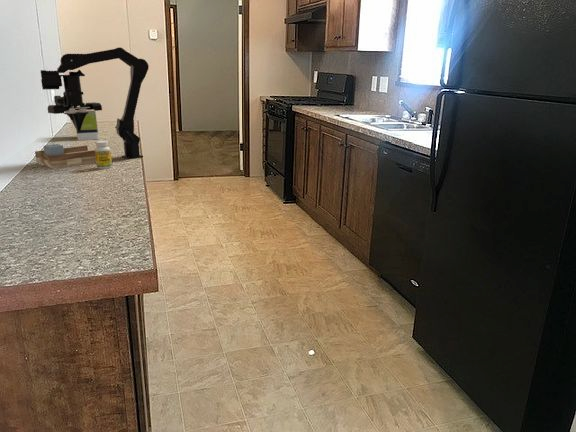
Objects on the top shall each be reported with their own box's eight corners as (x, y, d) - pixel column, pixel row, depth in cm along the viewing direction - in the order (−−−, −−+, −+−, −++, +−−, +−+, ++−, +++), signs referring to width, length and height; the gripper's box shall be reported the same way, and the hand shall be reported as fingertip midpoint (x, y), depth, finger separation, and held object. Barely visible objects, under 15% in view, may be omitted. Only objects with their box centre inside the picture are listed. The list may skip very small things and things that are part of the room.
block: (64, 159, 175) (63, 145, 174) (51, 160, 172) (49, 147, 170) (59, 157, 178) (57, 144, 177) (45, 159, 175) (43, 145, 173)
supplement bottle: (110, 165, 177) (107, 140, 174) (113, 168, 173) (111, 142, 170) (95, 167, 174) (92, 141, 172) (98, 169, 170) (95, 143, 167)
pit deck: (104, 161, 185) (103, 149, 184) (52, 168, 171) (50, 156, 170) (87, 156, 194) (86, 145, 193) (36, 163, 180) (34, 151, 178)
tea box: (76, 136, 246) (73, 107, 242) (97, 135, 250) (94, 107, 246) (77, 140, 233) (73, 110, 229) (99, 139, 237) (95, 109, 233)
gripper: (86, 87, 188) (91, 126, 193) (37, 89, 175) (44, 131, 180) (100, 88, 181) (105, 129, 186) (51, 90, 168) (58, 134, 173)
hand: (78, 130), depth 181 cm, fingers closed
